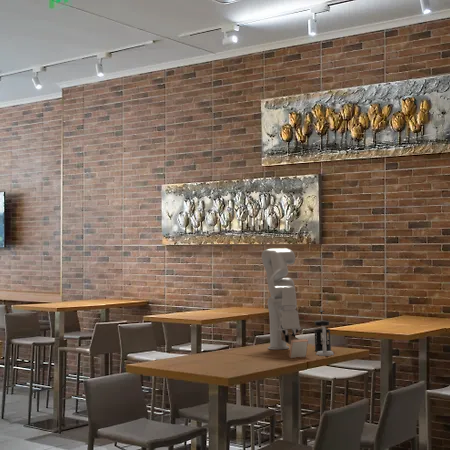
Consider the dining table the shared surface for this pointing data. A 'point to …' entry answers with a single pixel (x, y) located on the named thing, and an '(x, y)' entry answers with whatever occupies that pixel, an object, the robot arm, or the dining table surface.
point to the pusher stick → (288, 338)
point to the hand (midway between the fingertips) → (290, 341)
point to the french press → (318, 333)
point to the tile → (298, 348)
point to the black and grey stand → (324, 346)
